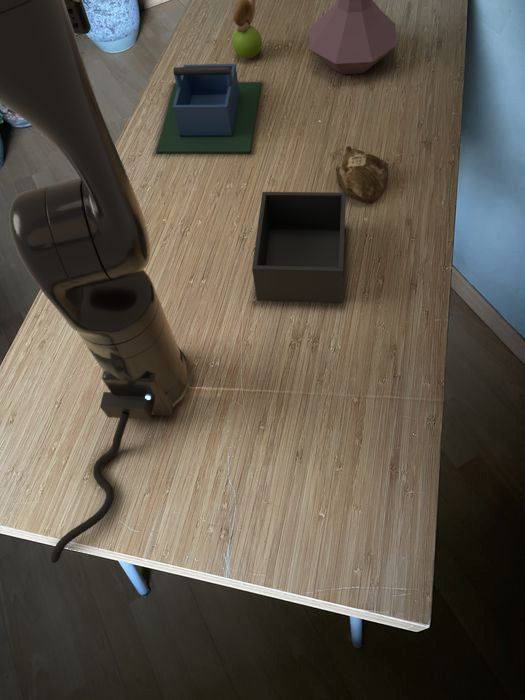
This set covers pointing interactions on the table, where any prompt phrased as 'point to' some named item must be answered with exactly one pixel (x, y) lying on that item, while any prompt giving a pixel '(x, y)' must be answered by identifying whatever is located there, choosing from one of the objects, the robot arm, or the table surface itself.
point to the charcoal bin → (300, 247)
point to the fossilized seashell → (362, 175)
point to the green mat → (214, 145)
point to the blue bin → (206, 100)
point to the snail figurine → (246, 30)
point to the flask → (352, 36)
